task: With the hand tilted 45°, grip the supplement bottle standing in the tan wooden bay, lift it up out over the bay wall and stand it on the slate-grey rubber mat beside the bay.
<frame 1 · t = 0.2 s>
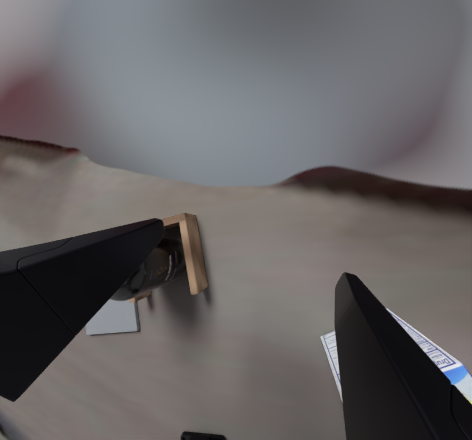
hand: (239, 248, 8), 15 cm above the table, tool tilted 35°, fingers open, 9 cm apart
supplement bottle: (171, 257, 27), on the table
tan wooden bay: (170, 257, 26), on the table
slate mat: (108, 282, 29), on the table
medicine box: (362, 338, 19), on the table
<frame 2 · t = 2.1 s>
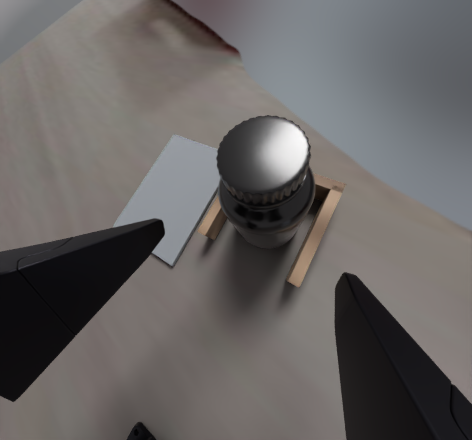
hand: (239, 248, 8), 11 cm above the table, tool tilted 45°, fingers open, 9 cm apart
supplement bottle: (267, 220, 20), on the table
tan wooden bay: (267, 219, 20), on the table
slate mat: (174, 193, 23), on the table
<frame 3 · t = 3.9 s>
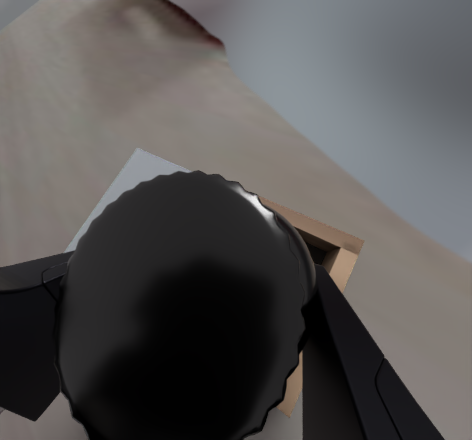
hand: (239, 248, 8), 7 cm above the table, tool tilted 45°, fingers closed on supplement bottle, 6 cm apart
supplement bottle: (250, 274, 14), on the table, touching gripper
tan wooden bay: (249, 274, 14), on the table
slate mat: (132, 227, 18), on the table
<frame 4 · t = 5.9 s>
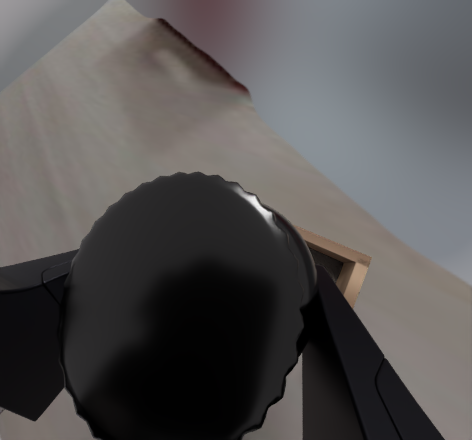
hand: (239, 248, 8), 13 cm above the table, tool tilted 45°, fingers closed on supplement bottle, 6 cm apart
supplement bottle: (252, 274, 14), point 6 cm above the table, touching gripper
tan wooden bay: (287, 280, 19), on the table
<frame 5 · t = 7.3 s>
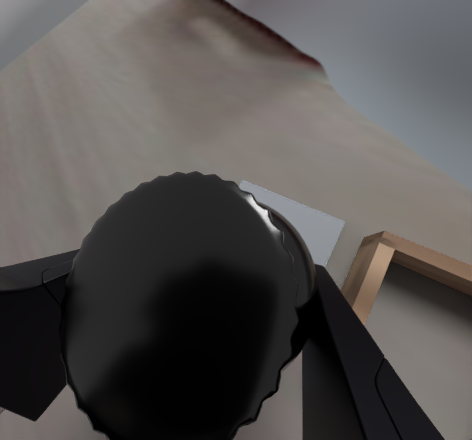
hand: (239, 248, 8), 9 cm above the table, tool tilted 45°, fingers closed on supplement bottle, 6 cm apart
supplement bottle: (253, 274, 14), point 2 cm above the table, touching gripper
tan wooden bay: (414, 333, 13), on the table
slate mat: (253, 269, 17), on the table
when the fingers open (8 cm above the table, at t = 8.1 s): supplement bottle stays where it is, resting on slate mat.
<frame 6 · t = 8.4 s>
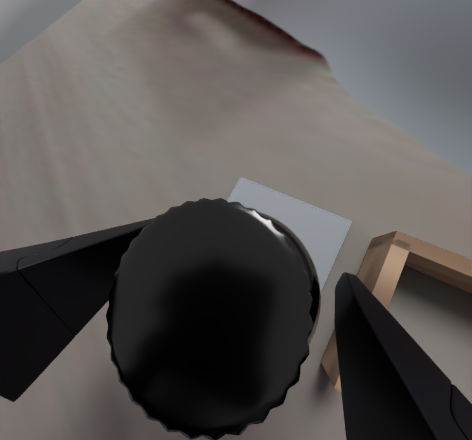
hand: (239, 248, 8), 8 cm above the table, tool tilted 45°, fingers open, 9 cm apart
supplement bottle: (254, 276, 15), resting on slate mat
tan wooden bay: (431, 344, 12), on the table
slate mat: (251, 273, 16), on the table
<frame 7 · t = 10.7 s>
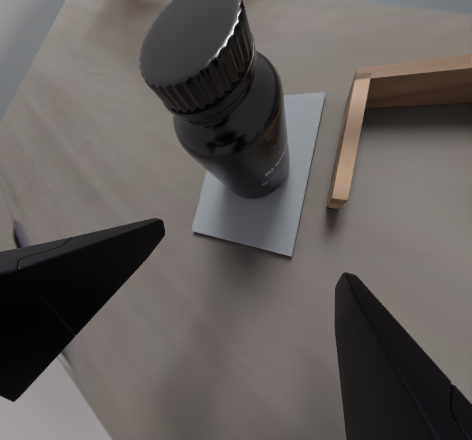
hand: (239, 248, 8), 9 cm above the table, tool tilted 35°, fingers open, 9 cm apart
supplement bottle: (256, 169, 18), resting on slate mat
tan wooden bay: (414, 157, 14), on the table
slate mat: (254, 169, 18), on the table
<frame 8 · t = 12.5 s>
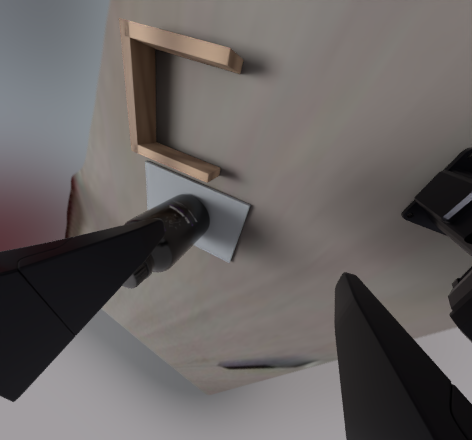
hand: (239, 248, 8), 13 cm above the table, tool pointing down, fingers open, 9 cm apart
supplement bottle: (191, 213, 26), resting on slate mat
tan wooden bay: (189, 113, 19), on the table
slate mat: (192, 214, 26), on the table
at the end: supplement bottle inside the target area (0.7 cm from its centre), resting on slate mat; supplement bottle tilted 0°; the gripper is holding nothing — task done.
